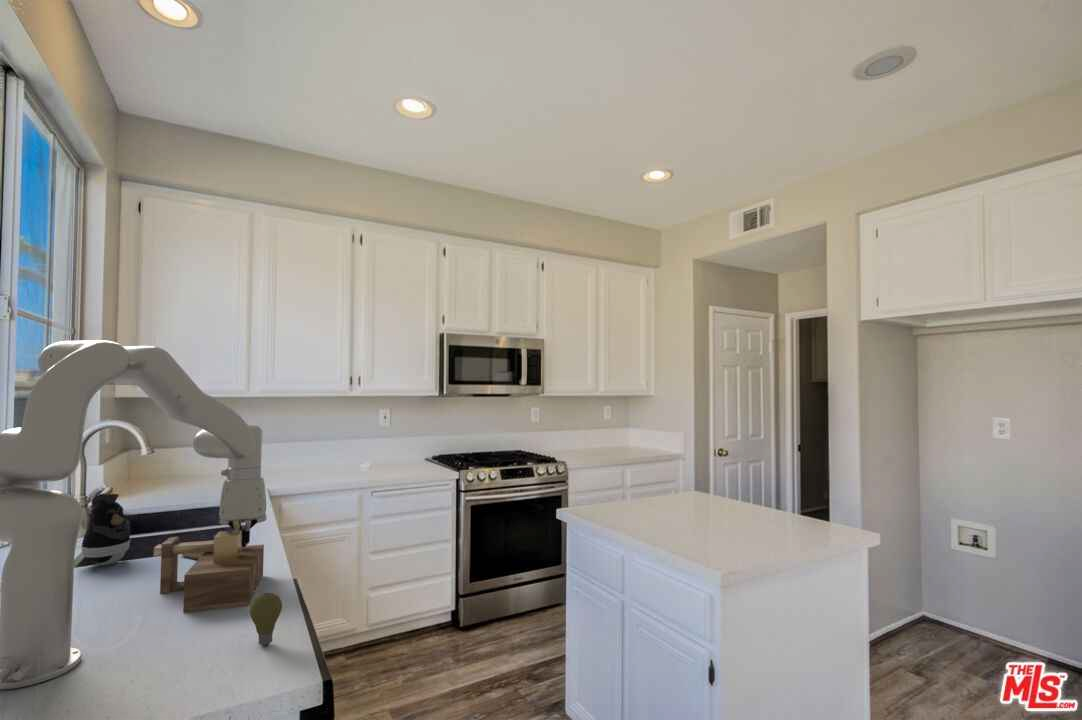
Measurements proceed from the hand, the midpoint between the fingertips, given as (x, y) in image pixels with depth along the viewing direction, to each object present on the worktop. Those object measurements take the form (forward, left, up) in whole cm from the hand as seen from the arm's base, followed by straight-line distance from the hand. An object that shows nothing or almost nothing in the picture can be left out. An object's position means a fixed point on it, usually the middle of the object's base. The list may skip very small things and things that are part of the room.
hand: (242, 545), depth 141 cm
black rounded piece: (+25, +38, -9) cm, 46 cm away
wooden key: (0, +12, -1) cm, 12 cm away
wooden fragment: (+31, +16, -10) cm, 36 cm away
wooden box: (-7, +6, -9) cm, 13 cm away
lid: (-7, +2, -3) cm, 8 cm away
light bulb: (-39, -11, -9) cm, 42 cm away
